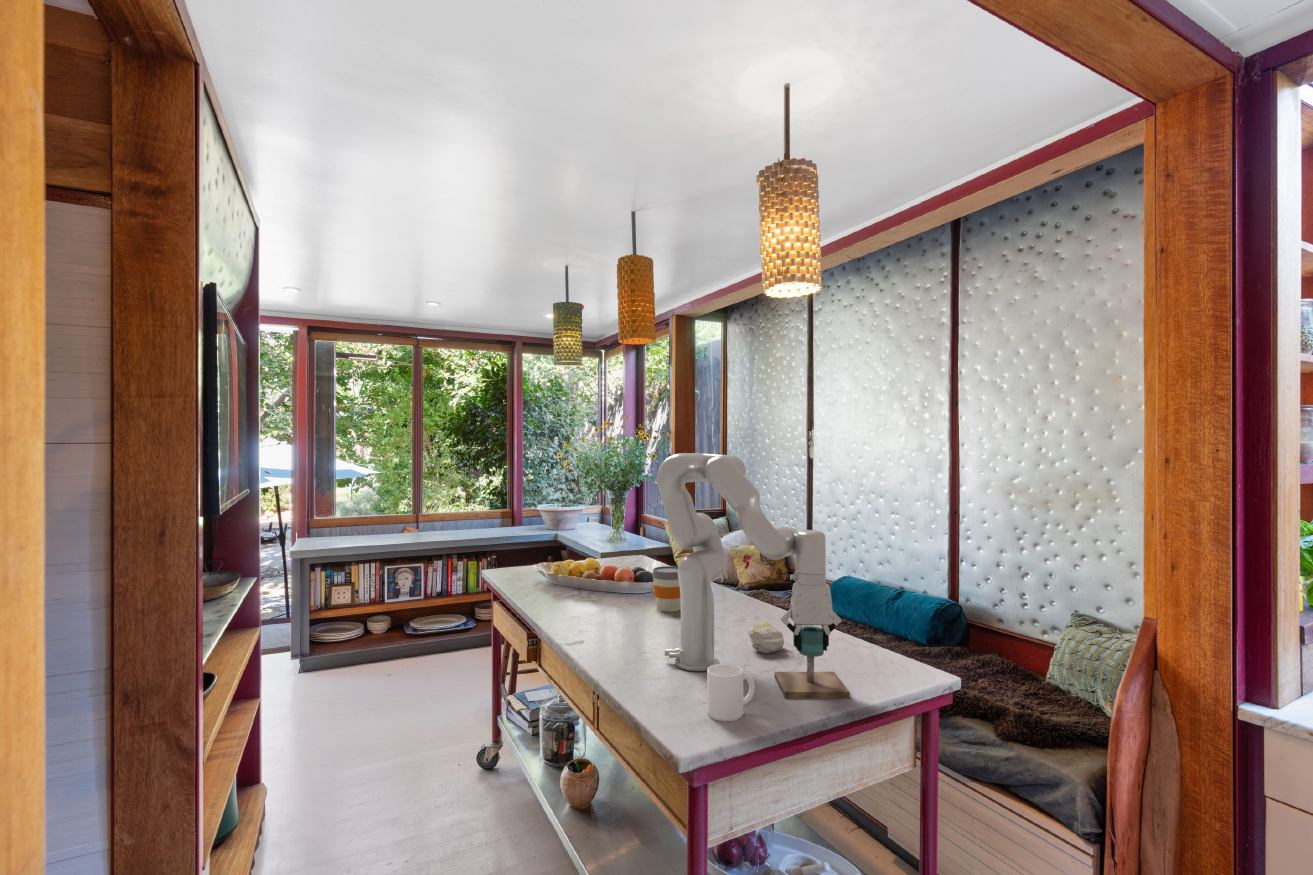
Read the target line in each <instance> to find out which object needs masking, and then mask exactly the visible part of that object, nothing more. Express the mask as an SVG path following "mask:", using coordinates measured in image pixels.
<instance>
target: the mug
mask: <svg viewBox="0 0 1313 875" xmlns="http://www.w3.org/2000/svg"><path fill="white" fill-rule="evenodd" d="M706 672H707V673H706V676H707V677H706V681H707V682H706V685H707V687H706V689H707V691H706V692H707V693H706V704H707V705H706V708H707V710H706V711H707V715H708V716H709V717H710V718H711V719H713V720H715V721H718V722H723V723H724V722H725V723H726V722H728V723H729V722H735V721H738V720H740V719H741V718H742V717H743V715H744V705H746V704H748V703H749V702H751V700H752V699H753V697H754V694H755V689H756V684H755V680H754V679H753V677H752V676H751V674H749V673H747V672H744V669H743V668H742V667H740V666H738V665H736V664H731V663H720V664H716V665H712V666H710V667H708V669H707V671H706ZM744 680H746V681H747V683H748V686H749V688H748V692H747V694H746V695H745V697H744Z"/></svg>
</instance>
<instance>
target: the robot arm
mask: <svg viewBox="0 0 1313 875" xmlns="http://www.w3.org/2000/svg"><path fill="white" fill-rule="evenodd" d="M657 470H658V471H657V474H656V486H657V491H658V493H659V495H660V498H661V502H662V505H663V509H664V511H665V512H664V513H665V515H666V519H667V522H668V526H669V531H670V533H671V537H672V540H673V542H674V544H675V545H676V546H677V547H679V548H681V549H684V550H685V549H692V551H693V552H690V553H688V554H687V555H685V556H684V557H682V558H681V560H680V561H679V563H678V566H677V567H678V580H679V585H680V597H681V608H680V644H679V645H678V647H675V648H674V649H673V648H665V649H664V656H665V657H667V656H668V658H669V659H672V658H675V659H674V664H675V665H676V667H678V668H679V669H682V670H686V671H690V672H691V671H692V672H707V669H708V667H710V666H712V665H716V664H721V663H720V658H719V657H717V656H715V598H714V597H715V596H714V592H713V588H712V583H713V582H716V581H717V580H719V579H721V578H722V577H723V576H724V575H725V574H726V572H727V571H726V570H727V562H728V561H727V558H726V554H725V551H724V547H723V544H722V540H721V537H720V534H719V531H718V528H717V525H716V523H715V522H714V520H713V519H712V518H711V516H709V514H706V513H704V512H697V510H696V508H695V504H694V501H693V497H692V495H691V494H690V492H689V491H688V489H687V486H686V483H694V482H703V483H710V484H711V485H712V487H713V488H714V489H715V490H716V491H717V493H719V494H720V496H721V497H722V498H723V499H724V501H725V502H726V503H727V504H728V505H729V506H730V508H731V509H732V510H733V511H734V512H735V515H736V518H737V521H738V523H739V525H740V528H741V530H742V531H743V533H744V535H745V536H746V538H747V539H748V540H749V541H750V543H751V544H752V545H753V546H754V548H755V549H756V550H757V551H758V552H759V553H761V555H762V556H764V558H767V559H769V560H773V561H777V560H778V561H779V560H781V559H784V558H785V557H789V556H793V555H794V556H795V571H794V573H792V574H789V578H790V581H792V580H793V581H795V582H793V584H792V588H791V589H792V590H791V594H790V595H791V596H790V606H789V609H788V610H787V611H786V612H785V613H784V614H783V615H782V616H781V618H780V621H781V623H783V624H784V626H786V627H787V629H789V630H790V632H792V633H793V638H792V640H793V647H794V648H795V649H796V651H798V652H799V651H800V650H801V635H800V634H799V632H800V629H801V627H803V626H821V628H822V629H823V630H824V635H823V645H824V651H825V652H826V651H828V647H829V646H830V642H829V641H830V638H829V637H830V635H831V633H832V632H833V631H834V630H835V628H836V627H837V626H839V624H841V622H842V619H841V617H840V616H839V615H838V614H837V613H836V612H835V611H834V610H833V600H832V594H831V593H832V592H831V588H830V584H828V583H827V576H826V574H827V572H826V571H827V570H826V569H827V568H826V566H827V565H826V560H827V559H826V558H827V557H826V547H827V546H826V536H825V533H824V532H823V531H820V530H815V529H803V530H802V529H798V528H794V527H788V526H786V527H784V526H783V527H778V528H775V526H774V525H773V524H772V523H771V522H770V521H769V519H768V518H767V517H766V516H765V514H764V512H763V510H762V508H761V503H760V502H761V493H760V491H759V490H758V489H757V488H756V486H754V484H753V483H752V482H750V480H749V478H747V477H746V473H747V471H746V464H745V463H744V462H743V460H742V459H741V458H740V457H739V456H736V455H732V454H715V453H701V452H698V453H697V452H695V453H694V452H692V453H691V452H690V453H688V452H684V453H683V452H680V453H675V454H672V455H670V456H669V457H667V458H665V460H663V461H662V463H661V464H660V466H659V468H658V469H657ZM789 619H791V620H792V622H793V624H792V623H791V622H790V621H789Z"/></svg>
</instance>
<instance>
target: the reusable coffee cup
mask: <svg viewBox="0 0 1313 875" xmlns="http://www.w3.org/2000/svg"><path fill="white" fill-rule="evenodd" d="M651 576H652V578H653V579H652V580H653V583H652V588H653V596H654V597H655V604H656V610H658V611H659V610H660V612H663V611H668V612H667V613H672V612H671V611H675V612H678V610H679V611H681V597H680V585H679V580H678V566H673V565H670V566H669V565H668V566H667V565H666V566H663V565H662V566H657V567H653V569H652V575H651Z"/></svg>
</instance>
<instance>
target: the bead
mask: <svg viewBox="0 0 1313 875" xmlns="http://www.w3.org/2000/svg"><path fill="white" fill-rule="evenodd" d="M799 634H800V635H801V650H800V651H798V652H799V654H800V655H802V656H805V657H807V656H810V657H814V658H815V657H821V656H823V655H824V645H823V635H824V630H823V629H822V627H819V626H815V625H802V626H801V629H800V632H799Z"/></svg>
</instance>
